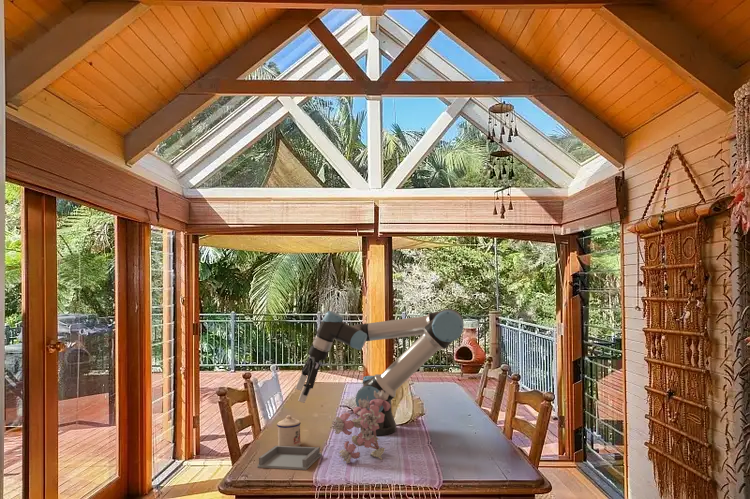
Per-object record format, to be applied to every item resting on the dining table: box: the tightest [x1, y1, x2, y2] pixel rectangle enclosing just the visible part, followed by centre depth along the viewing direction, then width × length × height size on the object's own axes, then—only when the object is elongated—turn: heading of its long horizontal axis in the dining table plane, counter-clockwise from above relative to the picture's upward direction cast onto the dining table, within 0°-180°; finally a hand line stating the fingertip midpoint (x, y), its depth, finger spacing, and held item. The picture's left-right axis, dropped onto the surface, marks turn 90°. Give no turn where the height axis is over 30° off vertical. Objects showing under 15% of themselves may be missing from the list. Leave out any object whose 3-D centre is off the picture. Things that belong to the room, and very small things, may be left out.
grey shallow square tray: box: [257, 445, 323, 471], centre depth 202 cm, size 18×16×3 cm
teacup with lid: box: [276, 414, 301, 447], centre depth 222 cm, size 12×9×12 cm
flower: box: [329, 387, 392, 464], centre depth 203 cm, size 20×22×25 cm
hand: (299, 395), depth 231 cm, fingers open, 13 cm apart
